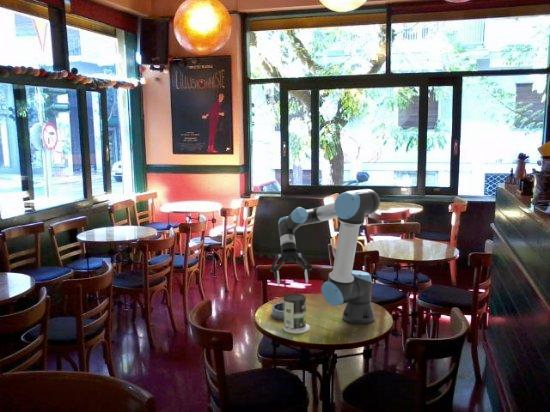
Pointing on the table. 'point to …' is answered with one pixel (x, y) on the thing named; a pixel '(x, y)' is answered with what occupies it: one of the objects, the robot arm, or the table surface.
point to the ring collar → (278, 310)
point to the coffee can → (294, 311)
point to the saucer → (298, 330)
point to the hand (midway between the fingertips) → (293, 283)
